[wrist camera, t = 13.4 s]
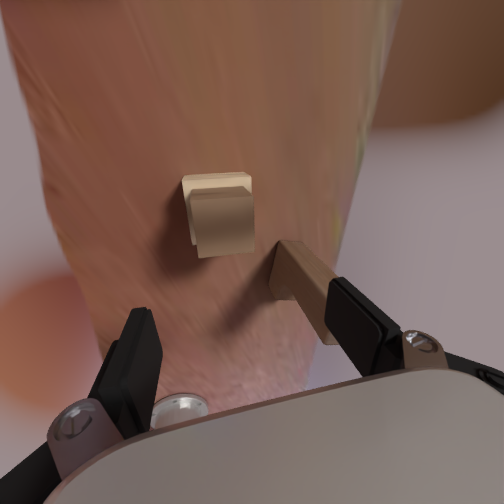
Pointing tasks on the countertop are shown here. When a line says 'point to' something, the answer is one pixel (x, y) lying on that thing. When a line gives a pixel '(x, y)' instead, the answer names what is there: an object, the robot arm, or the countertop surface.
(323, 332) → the wooden block
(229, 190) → the walnut cube
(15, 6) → the countertop surface
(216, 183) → the oak block
